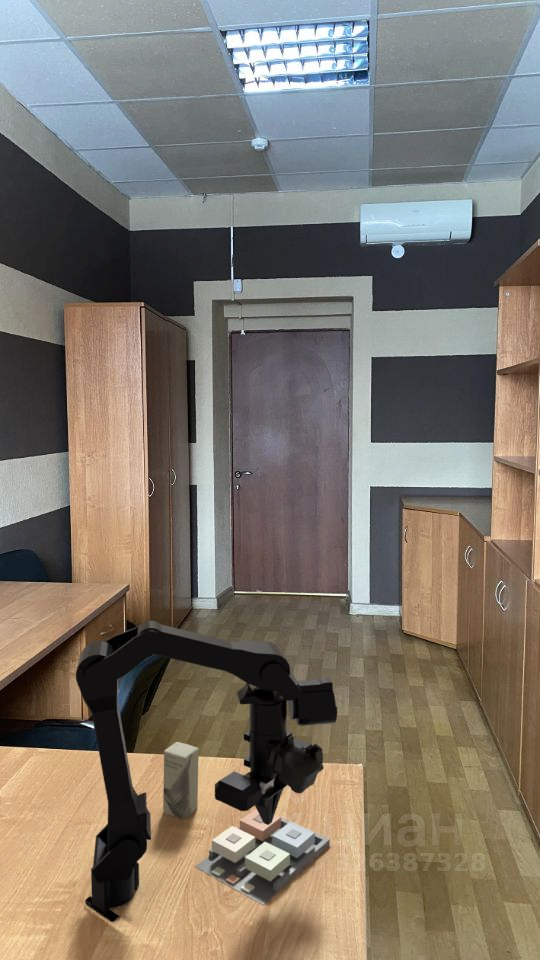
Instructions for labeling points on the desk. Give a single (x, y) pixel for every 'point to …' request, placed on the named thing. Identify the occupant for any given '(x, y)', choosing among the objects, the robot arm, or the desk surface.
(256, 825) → the key terracotta
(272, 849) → the key sage
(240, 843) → the key ivory
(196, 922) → the desk surface
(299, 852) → the key slate
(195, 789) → the box
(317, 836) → the grey compartment tray
